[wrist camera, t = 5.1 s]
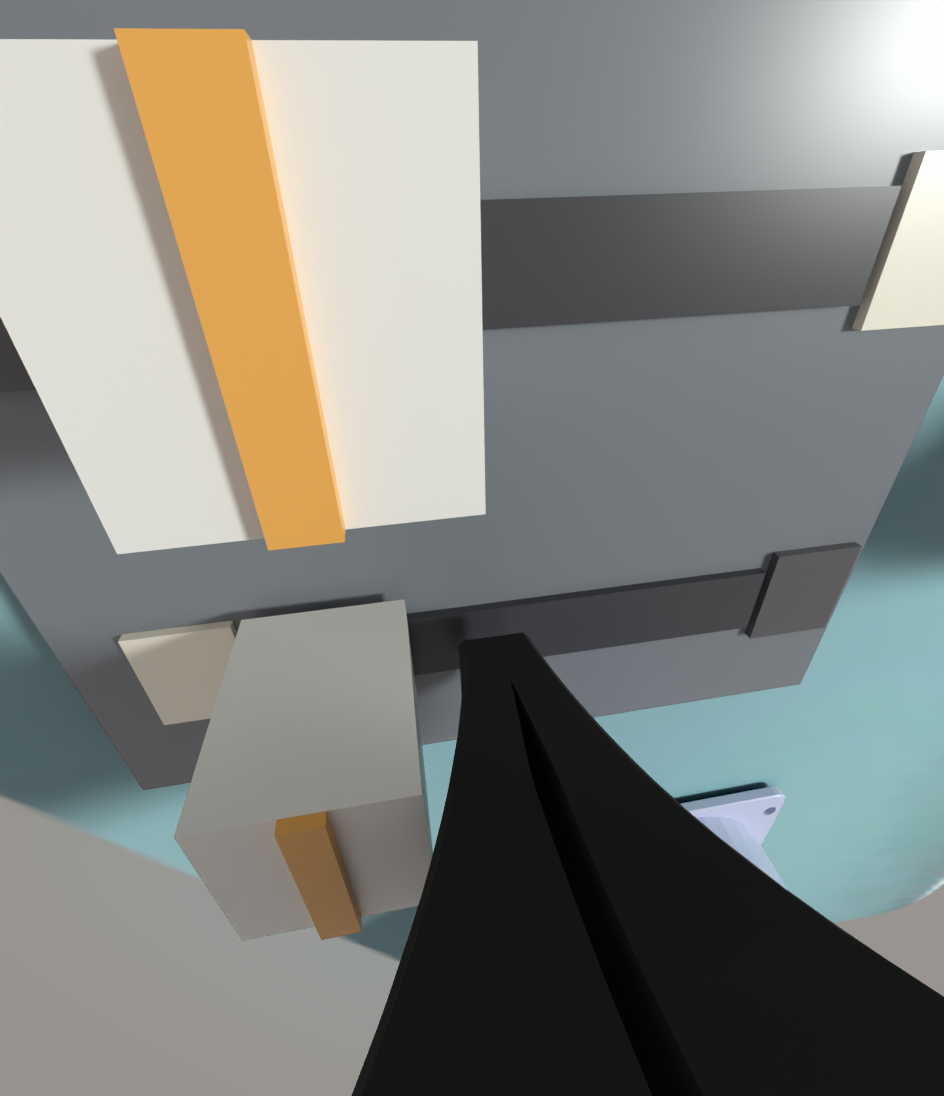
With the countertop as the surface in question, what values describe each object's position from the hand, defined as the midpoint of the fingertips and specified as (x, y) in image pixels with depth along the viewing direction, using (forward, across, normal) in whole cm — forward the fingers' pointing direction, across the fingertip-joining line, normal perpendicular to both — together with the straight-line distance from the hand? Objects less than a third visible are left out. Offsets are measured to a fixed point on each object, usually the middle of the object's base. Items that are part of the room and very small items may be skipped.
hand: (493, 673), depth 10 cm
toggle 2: (+1, +3, 0) cm, 3 cm away
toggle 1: (+1, +2, -7) cm, 7 cm away
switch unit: (+2, 0, -4) cm, 4 cm away
